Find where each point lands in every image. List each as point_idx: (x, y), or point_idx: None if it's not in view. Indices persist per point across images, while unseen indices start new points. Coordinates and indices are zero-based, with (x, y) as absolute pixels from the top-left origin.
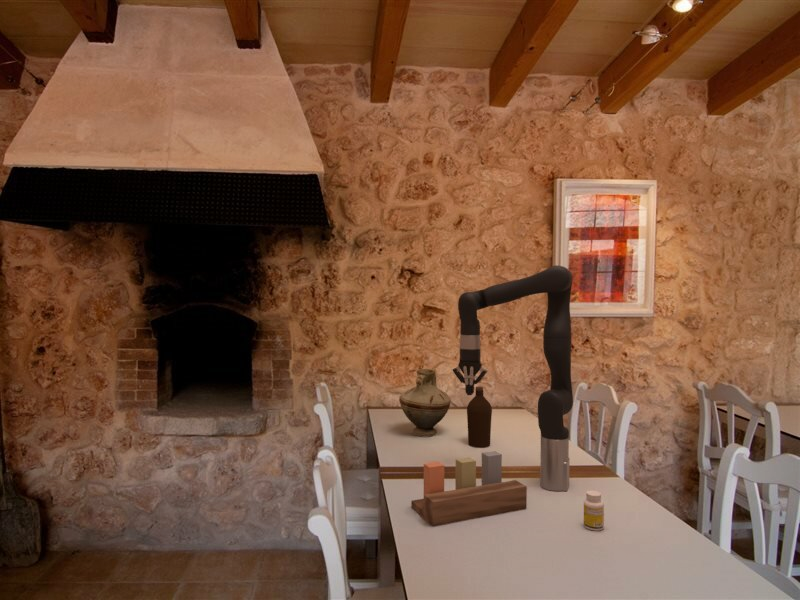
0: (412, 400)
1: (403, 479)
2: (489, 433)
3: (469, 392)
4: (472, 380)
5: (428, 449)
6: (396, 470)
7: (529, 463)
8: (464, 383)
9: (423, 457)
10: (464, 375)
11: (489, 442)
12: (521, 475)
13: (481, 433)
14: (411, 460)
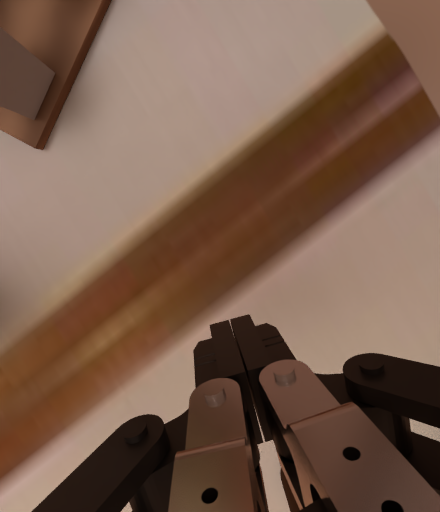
0: None
1: (337, 60)
2: (290, 509)
3: (225, 329)
4: (197, 437)
5: (413, 343)
6: (398, 118)
7: (110, 421)
8: (322, 375)
9: (389, 273)
10: (374, 436)
11: (283, 484)
12: (72, 319)
13: None
14: (406, 227)
